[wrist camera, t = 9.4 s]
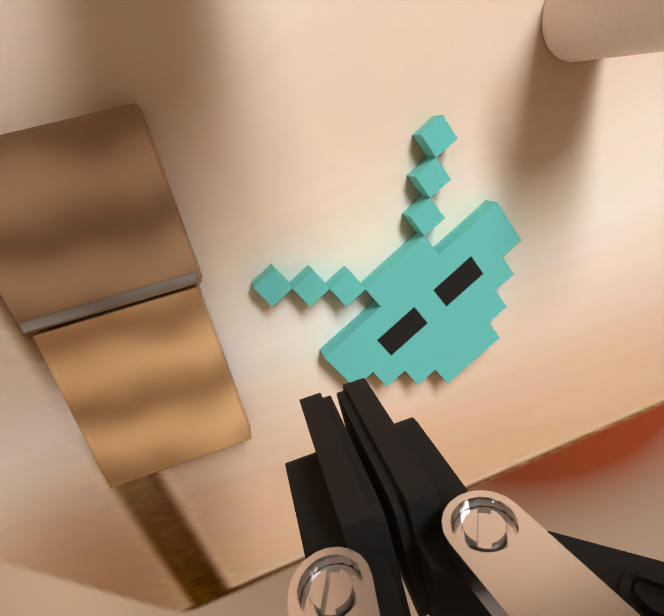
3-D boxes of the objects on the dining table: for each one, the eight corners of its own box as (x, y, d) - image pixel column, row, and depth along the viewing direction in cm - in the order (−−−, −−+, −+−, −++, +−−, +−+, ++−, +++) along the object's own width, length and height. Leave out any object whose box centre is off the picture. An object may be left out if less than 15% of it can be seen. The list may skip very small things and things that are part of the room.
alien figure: (251, 280, 37) (388, 416, 45) (253, 288, 35) (396, 428, 43) (430, 116, 36) (537, 284, 44) (442, 114, 34) (552, 291, 42)
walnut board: (-60, 153, 29) (-82, 153, 27) (139, 106, 31) (134, 103, 29) (34, 324, 34) (22, 336, 32) (201, 275, 36) (200, 283, 34)
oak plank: (43, 327, 34) (32, 336, 32) (197, 282, 36) (195, 287, 34) (116, 473, 39) (110, 488, 37) (250, 426, 40) (251, 438, 38)
